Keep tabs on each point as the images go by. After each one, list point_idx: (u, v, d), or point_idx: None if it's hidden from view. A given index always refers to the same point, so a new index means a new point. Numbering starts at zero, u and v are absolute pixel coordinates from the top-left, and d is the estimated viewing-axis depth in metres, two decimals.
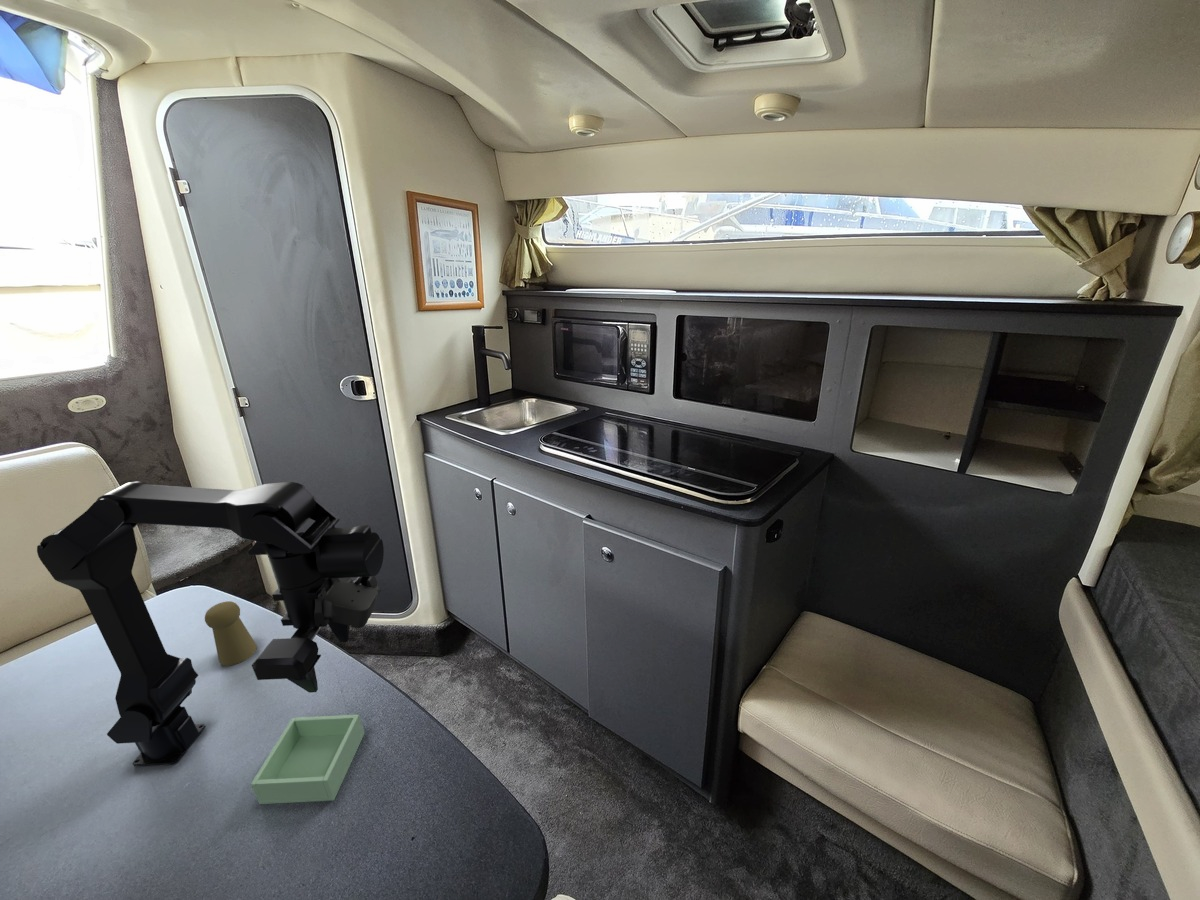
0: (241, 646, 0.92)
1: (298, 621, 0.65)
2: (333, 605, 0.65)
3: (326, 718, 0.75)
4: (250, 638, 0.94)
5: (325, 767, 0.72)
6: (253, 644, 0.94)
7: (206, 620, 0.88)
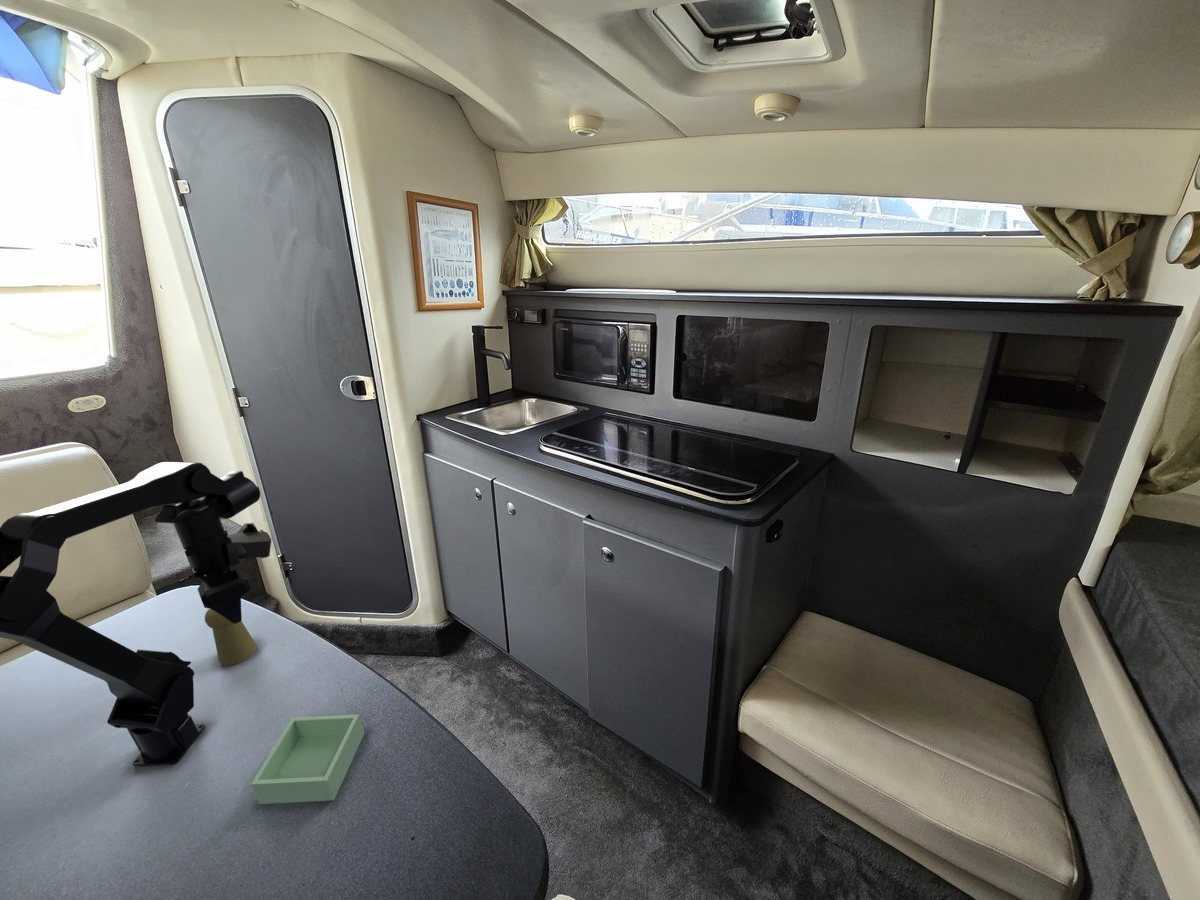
0: (241, 646, 0.92)
1: (213, 567, 0.81)
2: (243, 544, 0.83)
3: (326, 718, 0.75)
4: (250, 638, 0.94)
5: (325, 767, 0.72)
6: (253, 644, 0.94)
7: (206, 620, 0.88)
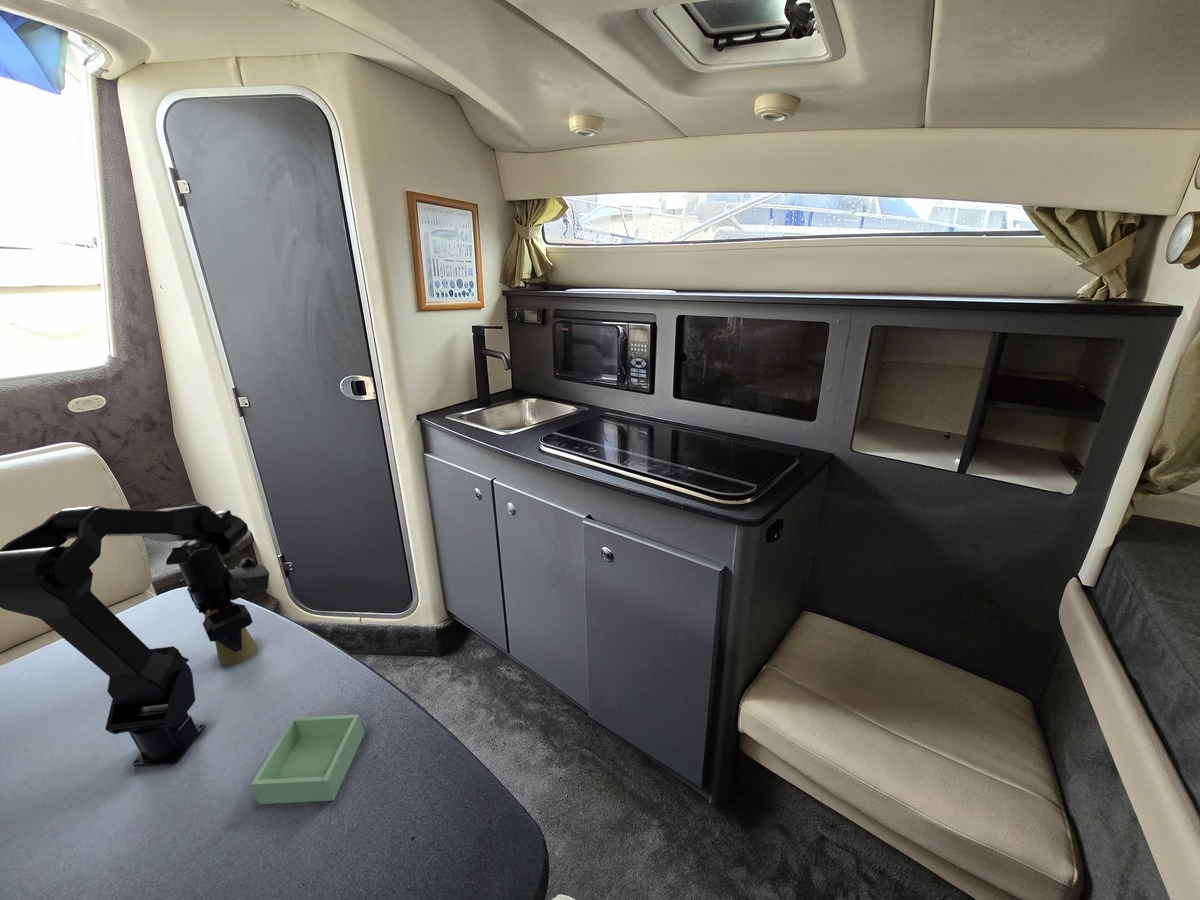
0: None
1: (216, 602, 0.87)
2: (243, 579, 0.89)
3: (326, 718, 0.75)
4: (250, 638, 0.94)
5: (325, 767, 0.72)
6: (253, 644, 0.94)
7: None
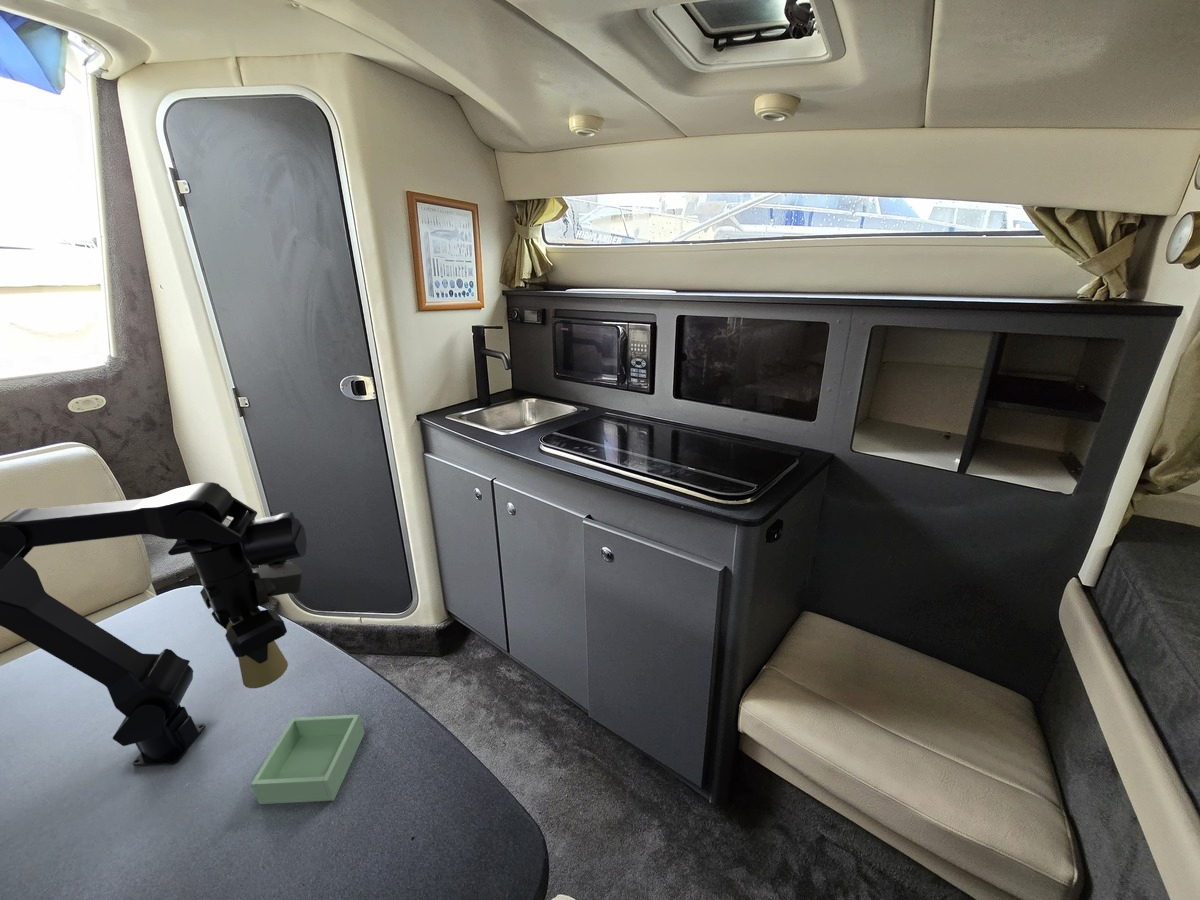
0: (271, 664, 0.75)
1: (240, 608, 0.70)
2: (272, 579, 0.73)
3: (326, 718, 0.75)
4: (280, 654, 0.77)
5: (325, 767, 0.72)
6: (284, 661, 0.78)
7: None
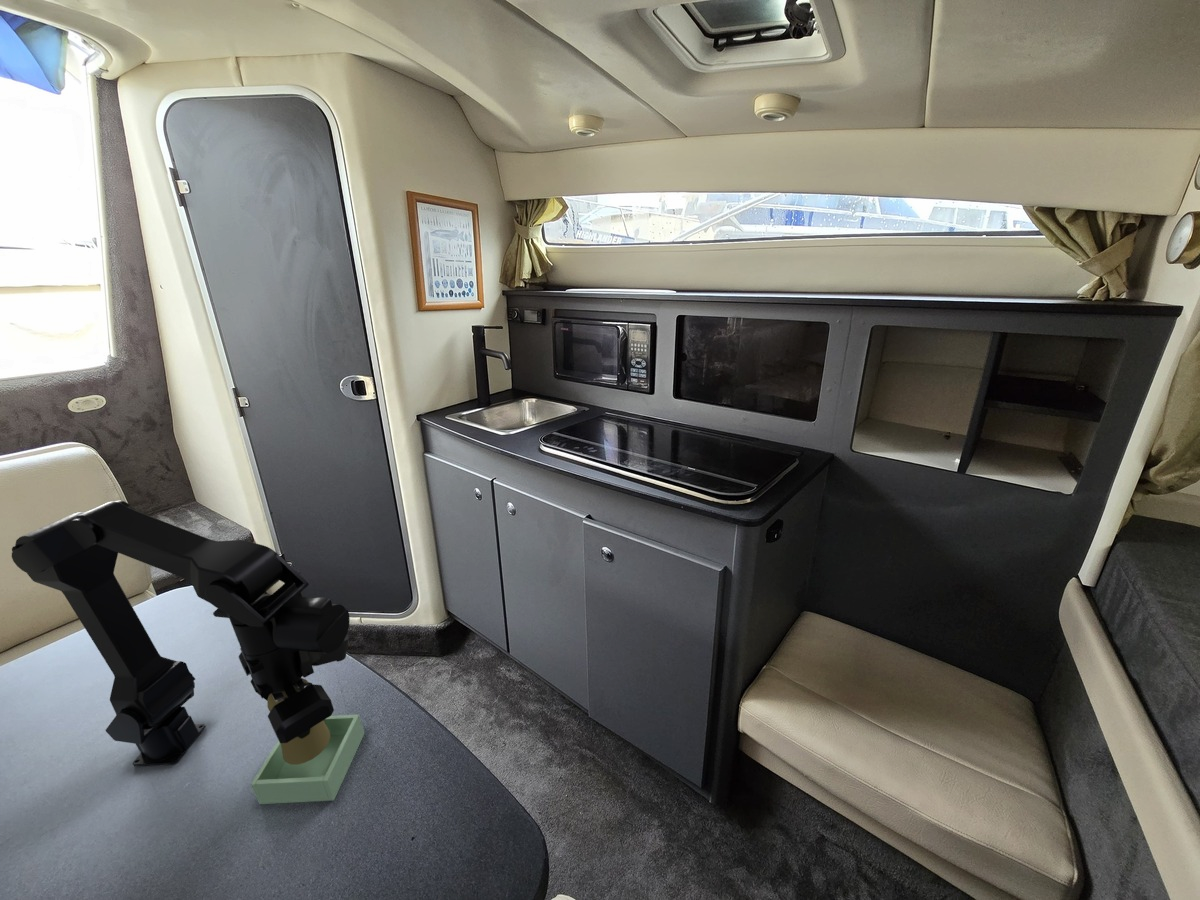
0: (313, 737, 0.69)
1: (283, 682, 0.63)
2: None
3: (326, 718, 0.75)
4: (323, 724, 0.71)
5: (325, 767, 0.72)
6: (326, 732, 0.71)
7: (270, 707, 0.65)
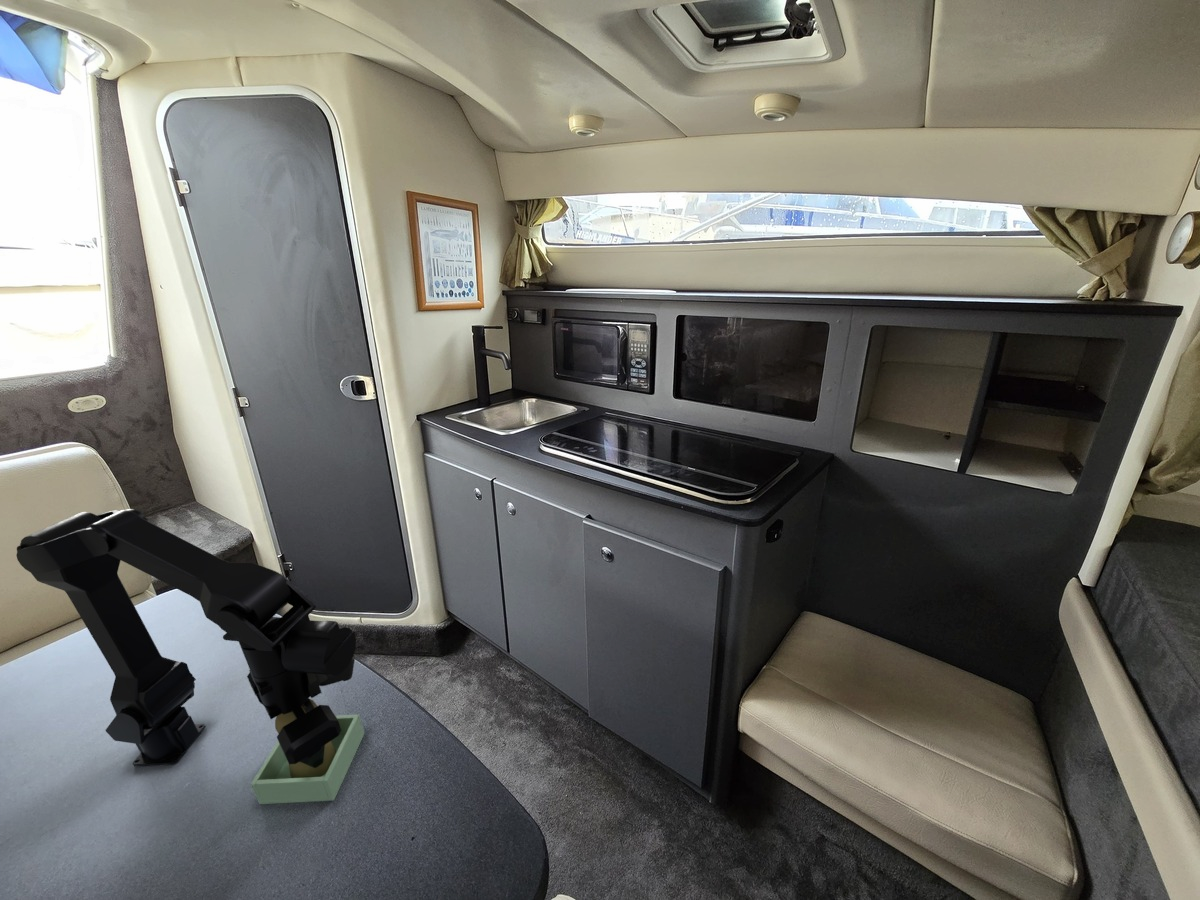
0: None
1: (291, 703, 0.65)
2: None
3: None
4: (329, 743, 0.72)
5: None
6: (333, 750, 0.73)
7: (278, 728, 0.67)
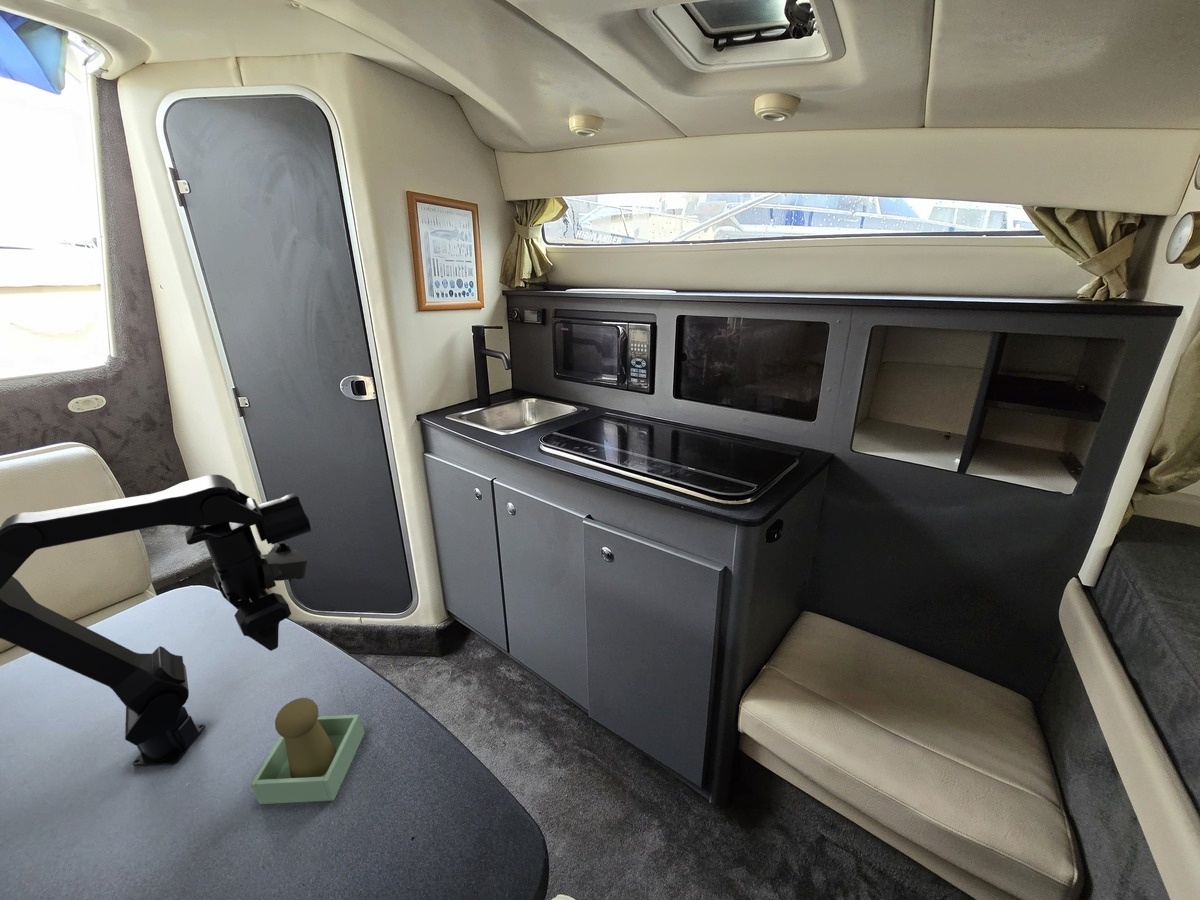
0: (320, 757, 0.70)
1: (248, 591, 0.75)
2: (279, 565, 0.78)
3: (326, 718, 0.75)
4: (329, 743, 0.72)
5: None
6: (333, 750, 0.73)
7: (278, 728, 0.67)
